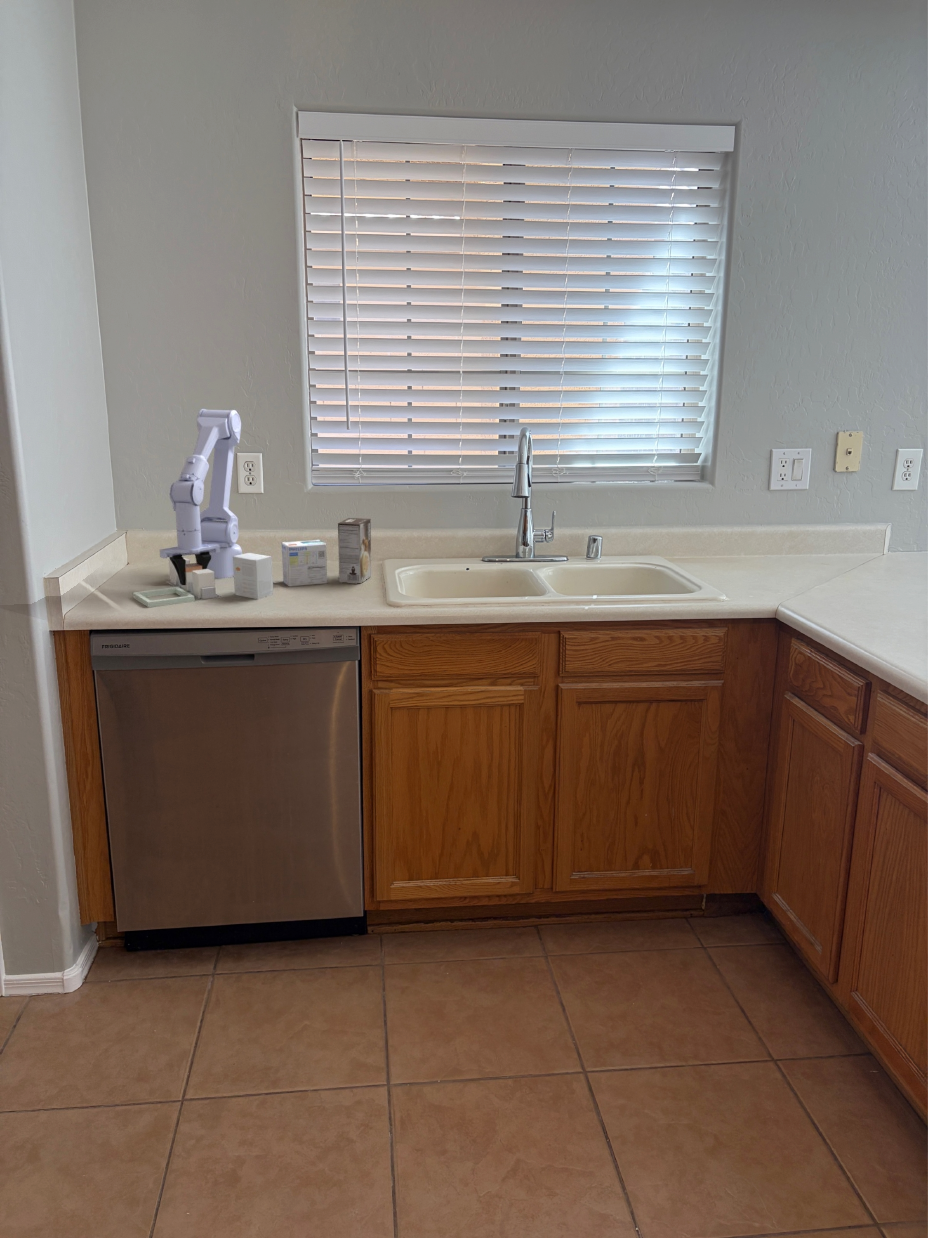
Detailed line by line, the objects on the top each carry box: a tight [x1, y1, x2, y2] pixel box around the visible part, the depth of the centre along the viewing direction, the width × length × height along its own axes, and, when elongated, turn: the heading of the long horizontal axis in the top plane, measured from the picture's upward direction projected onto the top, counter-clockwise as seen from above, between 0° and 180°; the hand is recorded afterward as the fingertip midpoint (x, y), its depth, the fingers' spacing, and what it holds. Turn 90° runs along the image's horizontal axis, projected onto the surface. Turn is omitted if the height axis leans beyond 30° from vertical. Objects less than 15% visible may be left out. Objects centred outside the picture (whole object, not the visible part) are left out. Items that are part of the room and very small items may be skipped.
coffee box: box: [337, 517, 372, 584], centre depth 246 cm, size 9×6×16 cm
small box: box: [233, 552, 274, 600], centre depth 226 cm, size 8×6×10 cm
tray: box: [132, 586, 196, 608], centre depth 221 cm, size 11×11×2 cm
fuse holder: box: [165, 575, 221, 601], centre depth 231 cm, size 6×23×3 cm, turn 37°
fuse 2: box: [192, 569, 216, 598], centre depth 224 cm, size 4×4×6 cm
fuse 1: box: [168, 556, 191, 585], centre depth 237 cm, size 4×4×6 cm
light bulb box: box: [281, 539, 328, 588], centre depth 242 cm, size 11×7×11 cm, turn 115°
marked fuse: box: [181, 562, 202, 591], centre depth 231 cm, size 4×4×6 cm
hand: (191, 583), depth 231 cm, fingers closed on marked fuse, 4 cm apart
